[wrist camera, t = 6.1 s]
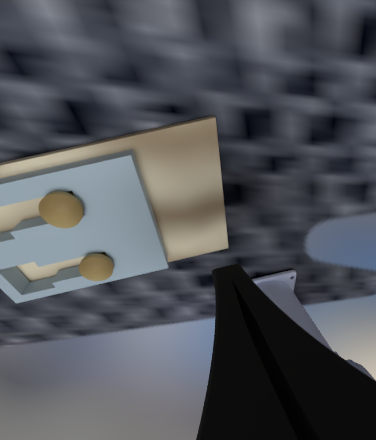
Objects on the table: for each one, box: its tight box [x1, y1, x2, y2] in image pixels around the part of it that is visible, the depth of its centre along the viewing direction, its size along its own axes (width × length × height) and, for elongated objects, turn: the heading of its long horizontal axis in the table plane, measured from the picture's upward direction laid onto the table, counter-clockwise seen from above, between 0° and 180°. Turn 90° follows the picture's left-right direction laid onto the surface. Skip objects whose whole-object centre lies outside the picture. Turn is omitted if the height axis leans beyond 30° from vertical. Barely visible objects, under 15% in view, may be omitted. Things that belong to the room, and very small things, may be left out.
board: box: [0, 116, 228, 282], centre depth 17 cm, size 12×20×3 cm, turn 100°
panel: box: [0, 149, 168, 303], centre depth 17 cm, size 10×14×2 cm
